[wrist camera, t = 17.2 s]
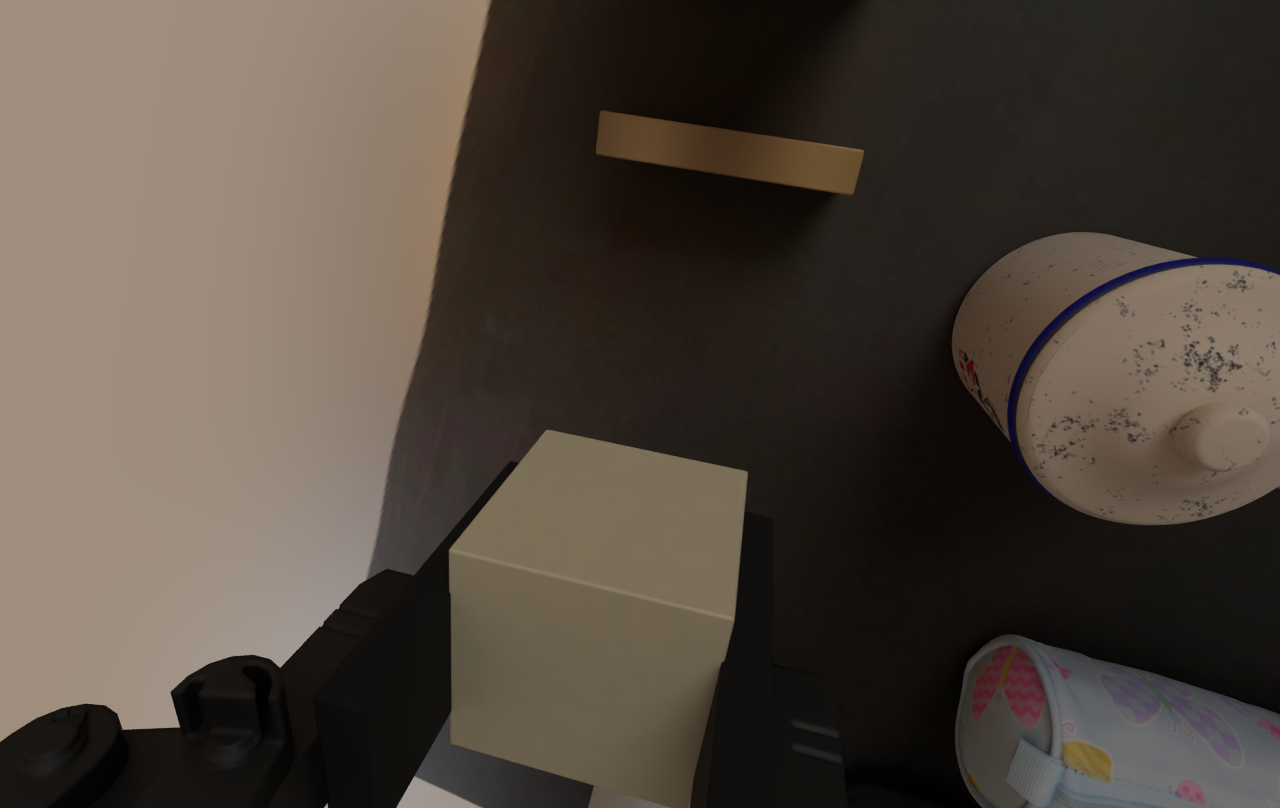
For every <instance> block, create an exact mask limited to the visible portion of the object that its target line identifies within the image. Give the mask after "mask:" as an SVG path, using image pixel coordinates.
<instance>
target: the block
mask: <svg viewBox="0 0 1280 808" xmlns="http://www.w3.org/2000/svg"><path fill="white" fill-rule="evenodd" d="M747 477H748V473H747V472H746V471H743V470H738V469H733V468H728V467H724V466H719V465H714V464H709V463H704V462H700V461H695V460H690V459H685V458H681V457H676V456H671V455H666V454H662V453H657V452H652V451H647V450H643V449H638V448H633V447H628V446H623V445H619V444H614V443H609V442H604V441H600V440H595V439H590V438H585V437H581V436H576V435H571V434H566V433H562V432H557V431H552V430H546V431H545V432H544V433H543V435H542V436H541V437H540V438H539V440H538V441H537V442H536V443H535V444H534V446H533V447H532V448H531V449H530V451H529V452H528V453H527V454H526V456H525V457H524V458H523V459H522V460H521V462H520V463H519V464H518V465H517V467H516V468H515V469H514V470H513V472H512V473H511V474H510V475H509V476H508V478H507V479H506V480H505V481H504V483H503V484H502V485H501V486H500V488H499V489H498V490H497V491H496V492H495V494H494V495H493V496H492V497H491V499H490V500H489V501H488V502H487V504H486V505H485V506H484V507H483V508H482V510H481V511H480V512H479V513H478V515H477V516H476V517H475V518H474V520H473V521H472V522H471V523H470V525H469V526H468V527H467V528H466V529H465V531H464V532H463V533H462V534H461V536H460V537H459V538H458V539H457V541H456V542H455V543H454V544H453V545H452V547H451V548H450V550H449V593H451V686H452V711H451V713H450V742H451V744H453V745H457V746H460V747H464V748H467V749H470V750H474V751H477V752H481V753H484V754H488V755H491V756H495V757H498V758H501V759H505V760H508V761H512V762H515V763H519V764H522V765H526V766H529V767H532V768H536V769H539V770H543V771H546V772H550V773H553V774H557V775H560V776H563V777H567V778H570V779H574V780H577V781H581V782H584V783H587V784H591V785H594V786H598V787H601V788H605V789H608V790H612V791H615V792H618V793H622V794H625V795H629V796H632V797H636V798H639V799H643V800H646V801H649V802H653V803H656V804H660V805H663V806H667V807H670V808H689V804H690V800H691V794H692V787H693V779H694V775H695V771H696V766H697V762H698V758H699V754H700V750H701V746H702V742H703V737H704V733H705V729H706V725H707V721H708V717H709V713H710V708H711V704H712V700H713V696H714V692H715V688H716V684H717V679H718V675H719V671H720V667H721V663H722V662H724V661H725V657H726V653H727V649H728V645H729V641H730V637H731V633H732V629H733V625H734V621H735V611H736V600H737V588H738V577H739V566H740V555H741V544H742V533H743V521H744V510H745V499H746V488H747Z"/></svg>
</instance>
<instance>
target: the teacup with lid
mask: <svg viewBox="0 0 1280 808" xmlns="http://www.w3.org/2000/svg"><path fill="white" fill-rule="evenodd" d="M952 354H953V359H954V363H955V367H956V370H957V372H958V374H959V377H960V379H961V380H962V382H963V384H964V385H965V387H966V388H967V389H968V391H969V392H970V393H971V394H972V396H973V397H974V398H975V399H976V400H977V402H978V403H979V404H980V405H981V407H982V408H983V409H984V410H985V411H986V413H987V414H988V415H989V416H990V418H991V419H992V420H993V421H994V422H995V424H996V425H997V426H998V427H999V429H1000V430H1001V431H1002V432H1003V433H1004V435H1005V436H1006V437H1007V438H1008V439H1009V441H1010V442H1011V444H1012V448H1013V450H1014V452H1015V455H1016V457H1017V459H1018V461H1019V462H1020V464H1021V466H1022V468H1023V469H1024V470H1025V472H1026V473H1027V474H1028V476H1029V477H1030V478H1031V479H1032V480H1033V481H1034V482H1035V483H1036V484H1037V485H1038V486H1039V487H1040V488H1041V489H1042V490H1044V491H1045V492H1046V493H1047V494H1048V495H1050V496H1051V497H1053V498H1054V499H1056V500H1057V501H1059V502H1061V503H1063V504H1065V505H1067V506H1069V507H1071V508H1073V509H1076V510H1078V511H1080V512H1083V513H1085V514H1088V515H1091V516H1094V517H1097V518H1100V519H1104V520H1109V521H1113V522H1119V523H1126V524H1136V525H1169V524H1179V523H1186V522H1192V521H1197V520H1201V519H1206V518H1210V517H1213V516H1216V515H1220V514H1223V513H1226V512H1228V511H1231V510H1234V509H1237V508H1239V507H1241V506H1243V505H1246V504H1248V503H1250V502H1252V501H1254V500H1256V499H1258V498H1260V497H1262V496H1264V495H1265V494H1267V493H1269V492H1270V491H1272V490H1274V489H1275V488H1280V271H1278V270H1275V269H1273V268H1270V267H1268V266H1264V265H1261V264H1257V263H1254V262H1249V261H1244V260H1238V259H1230V258H1217V257H1206V258H1198V257H1194V256H1190V255H1186V254H1182V253H1178V252H1174V251H1170V250H1167V249H1163V248H1159V247H1155V246H1151V245H1147V244H1143V243H1139V242H1136V241H1132V240H1128V239H1124V238H1120V237H1116V236H1112V235H1108V234H1102V233H1093V232H1073V233H1063V234H1058V235H1053V236H1049V237H1045V238H1042V239H1039V240H1036V241H1033V242H1031V243H1028V244H1026V245H1024V246H1022V247H1020V248H1018V249H1016V250H1014V251H1012V252H1011V253H1009V254H1007V255H1006V256H1004V257H1003V258H1001V259H1000V260H999V261H997V262H996V263H995V264H994V265H992V266H991V267H990V268H989V269H988V270H987V271H986V272H985V273H984V274H983V275H982V276H981V277H980V278H979V279H978V280H977V281H976V283H975V284H974V285H973V287H972V288H971V289H970V291H969V292H968V294H967V295H966V297H965V299H964V300H963V302H962V304H961V306H960V308H959V311H958V314H957V316H956V320H955V323H954V328H953V334H952Z"/></svg>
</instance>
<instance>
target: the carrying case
mask: <svg viewBox="0 0 1280 808" xmlns="http://www.w3.org/2000/svg"><path fill="white" fill-rule="evenodd" d="M845 782H846V791H847V801H848V808H968V807H966V806H965V805H963V804H961V803H958V802H955V801H952V800H949V799H946V798H943V797H940V796H938V795H935V794H932V793H929V792H926V791H923V790H920V789H917V788H914V787H911V786H908V785H905V784H902V783H899V782H896V781H893V780H891V779H888V778H885V777H882V776H879V775H876V774H873V773H866V772H858V773H855V774H853V775H852V776H850V777H849V778H848V779H847V780H846V781H845Z"/></svg>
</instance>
